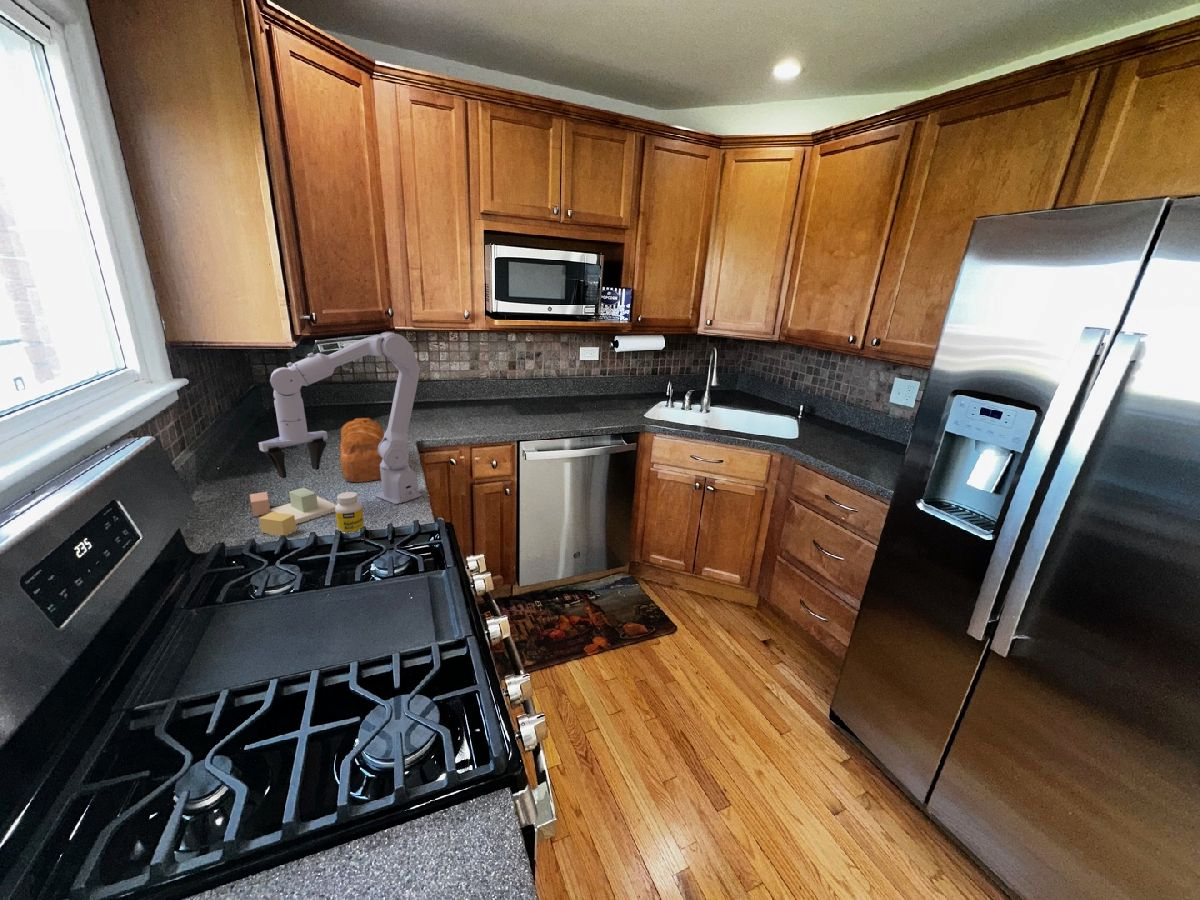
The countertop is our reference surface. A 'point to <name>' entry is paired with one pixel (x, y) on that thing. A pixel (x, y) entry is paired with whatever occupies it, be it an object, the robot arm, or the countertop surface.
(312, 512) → the board
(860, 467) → the countertop surface
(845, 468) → the countertop surface
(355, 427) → the bread
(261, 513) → the clay brick
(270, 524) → the mustard brick
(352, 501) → the supplement bottle
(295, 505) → the sage brick
